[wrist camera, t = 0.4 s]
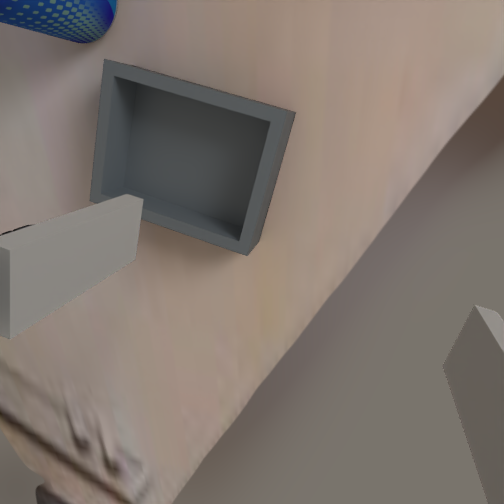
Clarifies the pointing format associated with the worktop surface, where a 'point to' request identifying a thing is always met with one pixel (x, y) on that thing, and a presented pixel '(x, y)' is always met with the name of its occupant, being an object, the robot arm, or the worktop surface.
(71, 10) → the beer can
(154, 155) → the caddy
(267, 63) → the worktop surface
